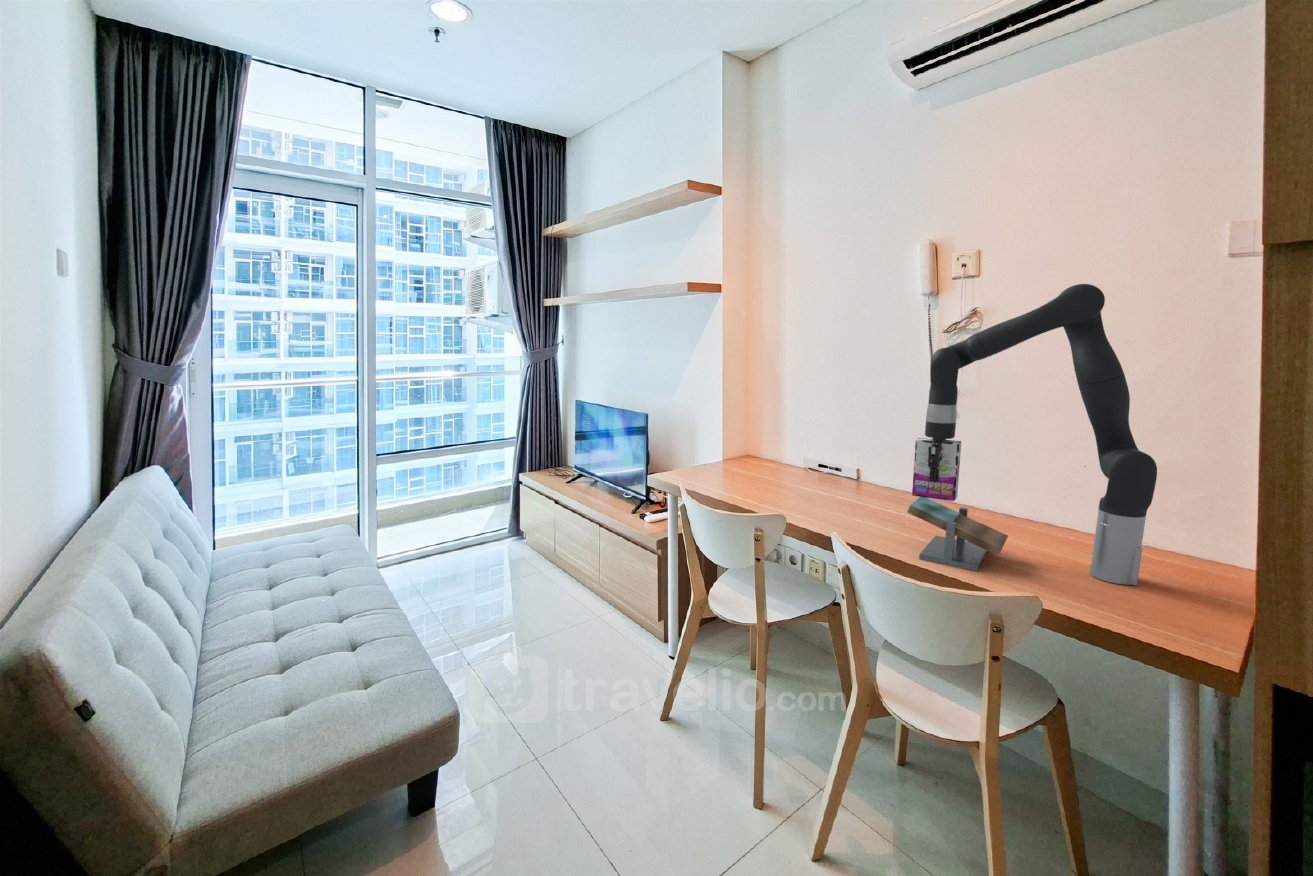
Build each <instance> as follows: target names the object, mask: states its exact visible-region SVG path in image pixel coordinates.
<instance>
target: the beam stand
mask: <svg viewBox="0 0 1313 876" xmlns="http://www.w3.org/2000/svg"><path fill="white" fill-rule="evenodd" d="M958 512H959V513H960V514H962V515H964V516H966V517H968V518H969V507H964V506H960V507H959V510H958ZM956 524H957V523H956V522H950V521H948V522H947V527H946V531H945V536H940V535H935V536H933V538H932V539H931V540H930V541H929V542H928V544H927V545H925V547H924V549H922V551H920V553H919V555H918V556H919V557H918V560H922V561H926V562H931V563H935V564H941V565H945V566H949V567H954V568H958V569H964V570H968V571H971V572H972V571H973V572H978V570H979V568H980V566H981V564H982V563H983V561H984V559H985V557H986V556H987V554H988V552H989V551H987V550H985V549H983V548H981V547H979V546H977V545H974V544H972V543H970V542H968V541H966V540H964V539H962V538H960V537H958V536H956Z"/></svg>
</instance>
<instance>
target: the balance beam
mask: <svg viewBox="0 0 1313 876" xmlns="http://www.w3.org/2000/svg"><path fill="white" fill-rule="evenodd" d="M907 513H908V514H910V515H912V516H913V517H916V518H917V519H920V520H922V521H925V522H927V523H928V524H931V525H932V526H935V527H937V528H938V529H942V530H944V531H945V532H946V527H947V522H948V521H950V522H956V523H957V524H956V535H955V537H957V536H958V537H960V538H962V539H964V540H965V541H967V542H970V543H972V544H974V545H977V546H979V547H981V548H983V549H985V550H987V551H988V552H990V553H992V554H993V555H995V556H1000V554H1001V552H1002V550H1003V547H1004V545H1005V543H1006V542H1007V539H1008V538H1009V535H1007V534H1005V533H1004V532H1001V531H999V530H997V529H995V528H992V527H990V526H989V525H985V524H983V523H981V522H979V521H977V520H975V519H973V518H970V517H969V516H968V517H966V516H964V515H962V514H960V513H959V511H956V510H954V509H952V508H950V507H948V506H945V505H943V504H941V503H939V502H936V501H935V500H932V499H931V498H926V497H918V498H917V499H915V501H913V503H911V504H910V505H909V507H908V510H907Z"/></svg>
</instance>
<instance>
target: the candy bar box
mask: <svg viewBox="0 0 1313 876" xmlns="http://www.w3.org/2000/svg"><path fill="white" fill-rule="evenodd" d="M932 440H933V438H928V437H926V438H925V437H923V438H922V437H919V438H917V439H915V444H914V461H913V462H914V463H913V476H912V490H911V491H912V492H911V496H913V497H918V498H920V497H926V498H928V499H934V500H935V499H936V500H943V501H951V502H955V501H956V500H957V498H958V490H959V479H960V476H959V475H960V466H961V465H960V464H961V452H962V441H961V440H953V439H952V440H951V439H946V440H943V441H942V445H941V452H943V460H942V461H941V462H940V469H939V479H938V482H930V481H929V476H930V468H929V467H928V452H929V450H928V448H929V447H932ZM939 457H941V454H940V455H939ZM933 463H936V460H933Z"/></svg>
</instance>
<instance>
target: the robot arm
mask: <svg viewBox="0 0 1313 876" xmlns="http://www.w3.org/2000/svg"><path fill="white" fill-rule="evenodd" d="M1105 299H1106V297H1105V293H1103V290H1101V289H1100V288H1099V287H1098V286H1096V285H1094V284H1090V283H1079V284H1074V285H1072V286H1069V287H1067V288H1066V289H1064V290H1063V291H1061V292H1060V293H1059V295H1058V296H1056V297H1055V298H1053V299H1051V300H1049V301H1048V302H1047V303H1045V304H1043V305H1041V306H1040V307H1037V308H1035V309H1033V310H1031V311H1028V312H1026V313H1023V314H1022V315H1018V316H1016V317H1013V318H1010V319H1007V320H1005V321H1002V322H1000V323H997V324H995V325H993V326H990V327H987V328H985V329H983V330H981V331H978V332H976V333H974V334H972V335H970V336H968V337H967V338H966V339H964V340H962V341H961V340H960V341H959V342H957V343H954V344H952V345H949V346H946V347H941V348H939V349H937V350H936V351H934V353H933V354H932V355H931V358H930V365H929V368H930V369H929V373H930V376H929V378H930V385H929V386H930V387H929V391H928V392H929V393H928V405H927V409H926V414H925V415H926V416H925V427H924V429H925V430H924V436H925V437H926V438H930V439H933V440H932V447H929V448H928V450H929V452H928V467H929V468H930V476H929V481H930V482H938V479H939V469H940V462H941V461H942V460H943V452H941V445H942V441H943V440H951V439H952V440H953V439H954V438H955V436H956V430H957V429H956V427H957V415H958V410H957V407H958V405H957V404H958V390H959V389H958V376H959V370H960V369H962V368H964V367H966V366H968V365H971V364H973V363H974V362H977V361H981V360H985V359H987V358H990V357H991V356H994V355H997V354H998V353H1001V352H1003V351H1005V350H1009V349H1011V348H1013V347H1015V346H1017V345H1018V344H1021V343H1024V342H1027V340H1030V339H1032V338H1034V337H1035V338H1036V337H1037V336H1040V335H1042V334H1044V333H1047V332H1050V331H1053V330H1056V329H1059V328H1063V330H1064V332H1065V334H1066V337H1067V339H1068V342H1069V345H1070V351H1071V355H1072V363H1073V364H1072V365H1073V368H1074V369H1073V370H1074V373H1075V377H1076V383H1077V385H1078V388H1079V393H1080V395H1081V399H1082V402H1083V404H1084V407H1085V410H1086V414H1087V417H1088V420H1089V422H1090V425H1091V426H1092V427H1091V428H1092V430H1093V433H1094V437H1095V441H1096V449H1097V457H1098V462H1099V468H1100V471H1101V472H1102V474H1103V475H1104V477H1106V479H1108V480H1107V486H1106V492H1105V494H1104V496H1103V497H1101V498H1100V499H1099V503H1098V511H1097V518H1096V526H1095V533H1094V541H1093V548H1092V556H1091V562H1090V570H1089V574H1090V575H1091V576H1092V577H1094V578H1096V579H1099V580H1101V581H1104V582H1107V583H1112V584H1117V585H1127V586H1129V585H1130V586H1138V581H1139V576H1140V574H1139V573H1140V567H1141V561H1142V554H1143V547H1142V546H1143V539H1144V534H1145V533H1144V532H1145V525H1146V518H1147V512H1148V509H1149V508H1150V506H1151V504H1152V502H1153V500H1154V494H1155V489H1156V485H1157V478H1158V477H1157V475H1158V465H1157V463H1156V461H1155V460H1154V458H1153V457H1152V456H1151V455H1149V454H1147V452H1144V451H1142V450H1139V448H1138V446H1137V444H1136V442H1135V439H1134V436H1133V434H1132V431H1131V426H1130V421H1129V419H1130V403H1131V402H1130V401H1131V399H1130V391H1129V386H1128V382H1127V379H1126V375H1125V373H1124V369H1123V367H1122V365H1121V362H1120V360H1119V359H1118V356H1117V354H1116V353H1115V351H1114V349H1113V347H1112V345H1111V343H1110V342H1109V339H1108V338H1107V335H1106V332H1105V328H1104V324H1103V322H1104V321H1103V318H1102V312H1101V311H1102V310H1103V309H1104V306H1105V302H1106V300H1105ZM940 454H941V457H939V455H940ZM933 460H936V463H933Z"/></svg>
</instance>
